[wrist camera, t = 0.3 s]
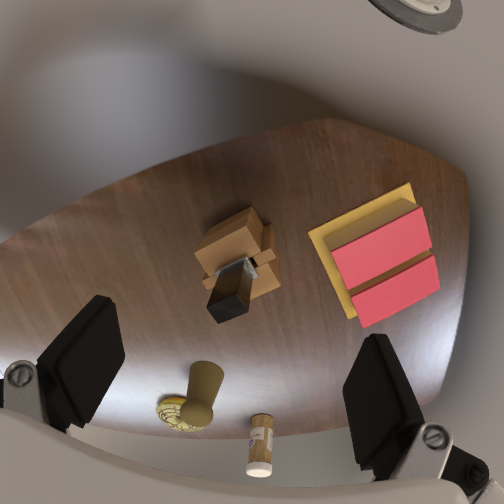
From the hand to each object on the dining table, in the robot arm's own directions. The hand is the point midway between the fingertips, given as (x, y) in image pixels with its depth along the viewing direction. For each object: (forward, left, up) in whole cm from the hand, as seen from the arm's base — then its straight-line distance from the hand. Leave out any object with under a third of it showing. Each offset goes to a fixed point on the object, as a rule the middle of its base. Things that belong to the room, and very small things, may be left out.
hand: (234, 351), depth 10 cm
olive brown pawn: (+22, -22, -26) cm, 41 cm away
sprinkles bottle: (+39, -20, -26) cm, 51 cm away
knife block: (+4, -4, -26) cm, 27 cm away
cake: (+14, +11, -26) cm, 31 cm away
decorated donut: (+30, -34, -26) cm, 52 cm away
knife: (+4, -4, -26) cm, 27 cm away
